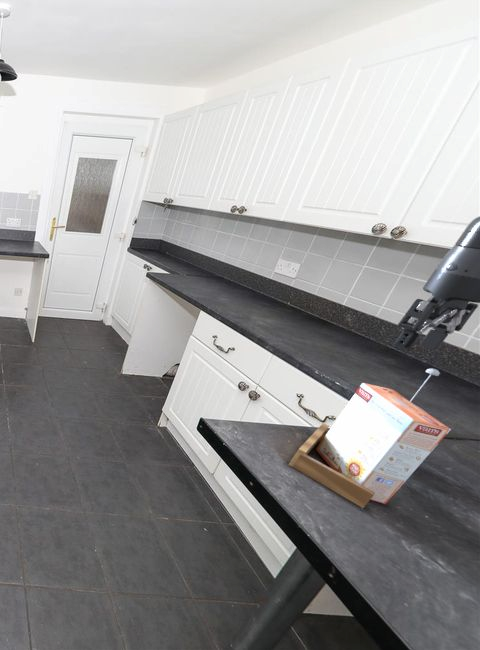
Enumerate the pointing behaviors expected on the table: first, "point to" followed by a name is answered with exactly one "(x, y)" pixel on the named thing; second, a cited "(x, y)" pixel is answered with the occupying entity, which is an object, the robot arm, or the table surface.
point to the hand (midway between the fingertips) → (414, 347)
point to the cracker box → (380, 440)
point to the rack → (328, 472)
